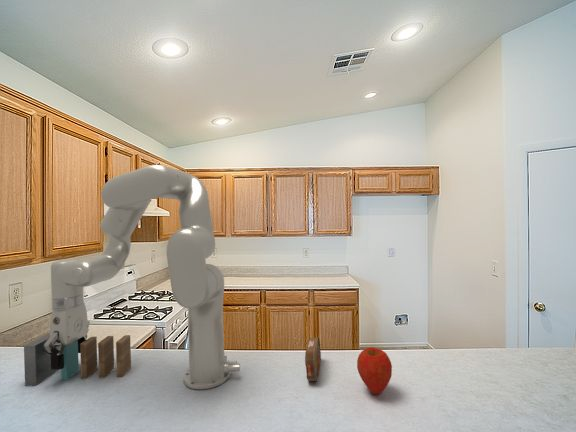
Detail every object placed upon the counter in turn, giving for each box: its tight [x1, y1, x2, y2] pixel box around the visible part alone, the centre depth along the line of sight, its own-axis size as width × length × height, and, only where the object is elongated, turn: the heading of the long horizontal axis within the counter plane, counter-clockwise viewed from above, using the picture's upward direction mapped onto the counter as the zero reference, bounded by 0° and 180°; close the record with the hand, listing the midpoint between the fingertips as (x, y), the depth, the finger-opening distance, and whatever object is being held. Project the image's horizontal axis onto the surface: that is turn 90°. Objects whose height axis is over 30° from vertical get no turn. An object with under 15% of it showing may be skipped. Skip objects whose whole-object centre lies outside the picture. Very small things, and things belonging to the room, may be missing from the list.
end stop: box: [23, 332, 60, 387], centre depth 88 cm, size 3×10×11 cm, turn 2°
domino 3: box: [97, 335, 115, 379], centre depth 88 cm, size 2×5×10 cm, turn 2°
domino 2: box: [79, 336, 98, 380], centre depth 88 cm, size 2×5×10 cm, turn 2°
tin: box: [304, 336, 322, 382], centre depth 85 cm, size 15×3×8 cm, turn 168°
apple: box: [356, 347, 393, 395], centre depth 75 cm, size 9×8×11 cm
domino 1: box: [60, 340, 80, 381], centre depth 88 cm, size 2×5×10 cm, turn 2°
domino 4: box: [115, 334, 132, 378], centre depth 88 cm, size 2×5×10 cm, turn 2°
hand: (69, 360), depth 88 cm, fingers open, 9 cm apart
